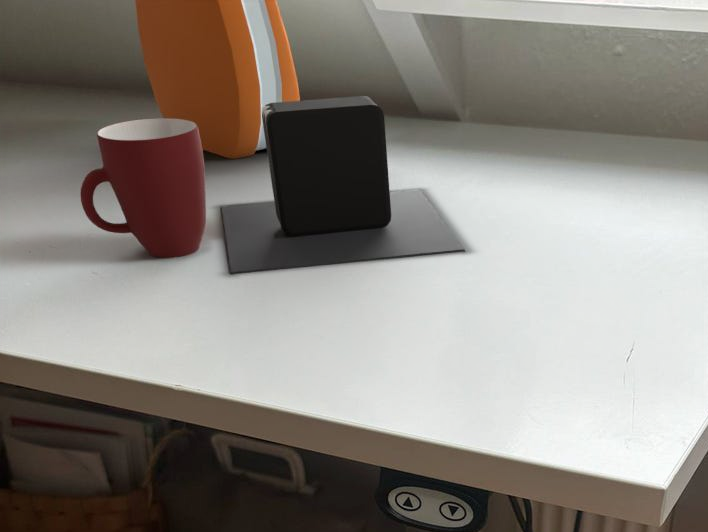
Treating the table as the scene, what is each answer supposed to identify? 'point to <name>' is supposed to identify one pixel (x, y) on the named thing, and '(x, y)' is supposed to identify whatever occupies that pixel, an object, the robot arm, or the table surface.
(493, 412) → the table surface
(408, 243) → the desk mat
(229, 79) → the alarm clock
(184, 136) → the mug
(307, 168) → the electronic device
